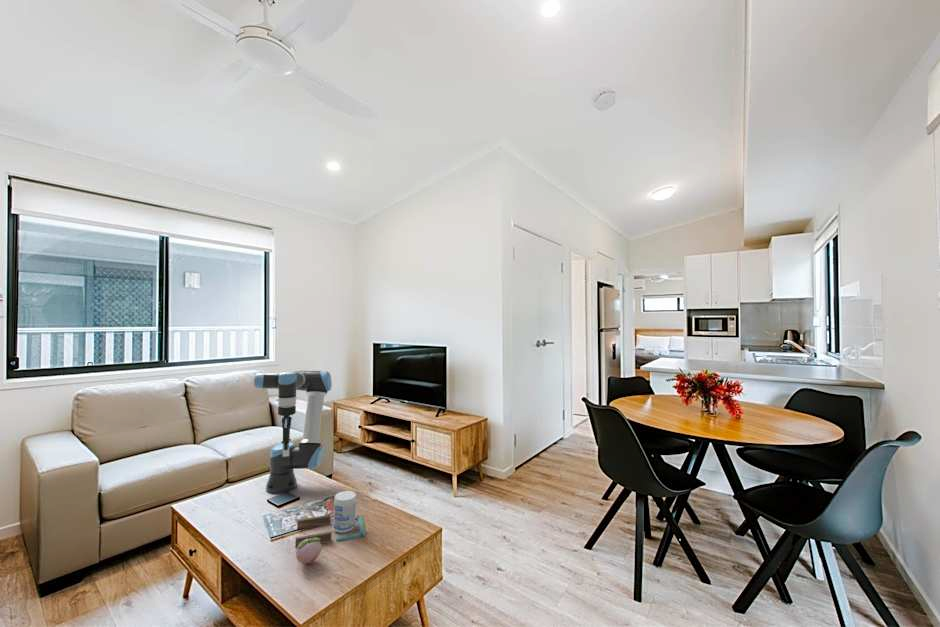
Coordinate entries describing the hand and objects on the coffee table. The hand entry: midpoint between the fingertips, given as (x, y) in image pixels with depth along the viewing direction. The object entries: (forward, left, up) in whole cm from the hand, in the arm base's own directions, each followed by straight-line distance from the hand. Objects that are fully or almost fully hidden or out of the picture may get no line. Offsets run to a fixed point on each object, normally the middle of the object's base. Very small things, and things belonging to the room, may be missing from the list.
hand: (285, 455), depth 182 cm
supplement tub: (+17, +26, -30) cm, 43 cm away
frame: (+18, +27, -29) cm, 44 cm away
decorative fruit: (+38, +11, -30) cm, 49 cm away
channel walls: (+18, +13, -29) cm, 37 cm away
